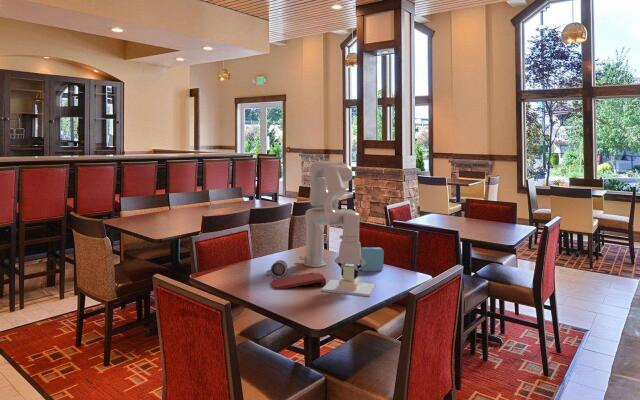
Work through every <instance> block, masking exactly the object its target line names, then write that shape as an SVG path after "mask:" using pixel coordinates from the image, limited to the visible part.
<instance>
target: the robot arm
mask: <svg viewBox="0 0 640 400" xmlns="http://www.w3.org/2000/svg"><path fill="white" fill-rule="evenodd" d="M308 171H309V176H310V190H309V203H310V205H311V206H312V207H313V208H309V209H307V210H306V211H305V214H304V215H305V217H304V218H305V225H306V226H305V227H306V244H305V245H306V249H305V254H306V255H299V256H298V258H299V260H300V261H303V262H302V263H303V265H304V266H306V267H308V268H309V267H310V268H318V267H319V268H321V267H324V266H326V265H327V264H326V261H325V260H324V246H325V245H324V241H325V235H324V231H323V229H322V228H321V226H329V225H330V226H332V227H337V226H342V235H339V239H341V241H340V244H339V249H338V256H337V257H336V258H335V259H334V263H336V264H337V266H338V267H339V268H340V269H341V273H340V275H341V276H342V277H341V279H342V278H343V267H344V266H345V264H349V265H354V266H355V270H354V279H357V277H358V276H359V270H360V269H361V267H362V266H363V265H365V264H366V263H365V261H364V260H363V258H362V257H361V248H362V246H361V242H360V222H361V221H360V218H361V217H360V213H358V212H356V211H354V210H353V209H338V208H339V199H340V198H342V197H343V196H345V195H346V192H347V188H346V185H345V182H350V181H351V180H352V178H353V170H352V168H351V166H350V165H349V164H346V163H344V162H342V161H338V160H337V161H336V160H333V161H332V160H316V161H312V162H311V164H310V165H309V170H308ZM314 207H315V208H314ZM360 262H361V264H360Z"/></svg>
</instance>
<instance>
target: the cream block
mask: <svg viewBox="0 0 640 400" xmlns="http://www.w3.org/2000/svg"><path fill="white" fill-rule="evenodd" d="M354 270H355V266H354V264H345V266H344V267H343V280H353V281H354Z"/></svg>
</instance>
